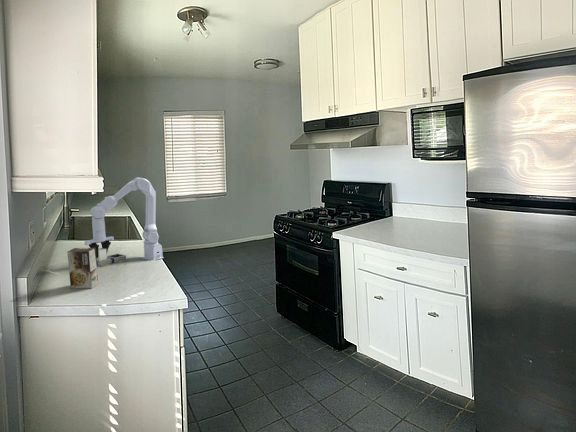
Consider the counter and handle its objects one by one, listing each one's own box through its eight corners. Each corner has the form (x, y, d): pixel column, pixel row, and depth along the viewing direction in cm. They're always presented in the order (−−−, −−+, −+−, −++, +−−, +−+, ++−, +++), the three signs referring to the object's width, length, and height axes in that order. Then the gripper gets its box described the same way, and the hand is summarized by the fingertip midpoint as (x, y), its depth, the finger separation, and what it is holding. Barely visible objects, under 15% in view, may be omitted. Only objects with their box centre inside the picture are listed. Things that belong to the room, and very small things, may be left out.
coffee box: (98, 283, 168) (96, 247, 166) (91, 288, 162) (89, 251, 159) (77, 283, 168) (74, 247, 165) (69, 288, 161) (66, 251, 159)
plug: (107, 262, 197) (106, 248, 196) (99, 264, 194) (98, 250, 193) (101, 260, 200) (100, 247, 198) (94, 262, 196) (93, 249, 195)
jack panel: (127, 261, 205) (127, 255, 204) (99, 268, 191) (99, 262, 191) (117, 258, 209) (117, 253, 209) (88, 265, 196) (88, 259, 195)
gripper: (107, 227, 202) (109, 252, 204) (80, 231, 190) (82, 258, 192) (115, 228, 198) (117, 254, 200) (88, 233, 186) (90, 260, 188)
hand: (100, 256), depth 196 cm, fingers closed on plug, 4 cm apart
